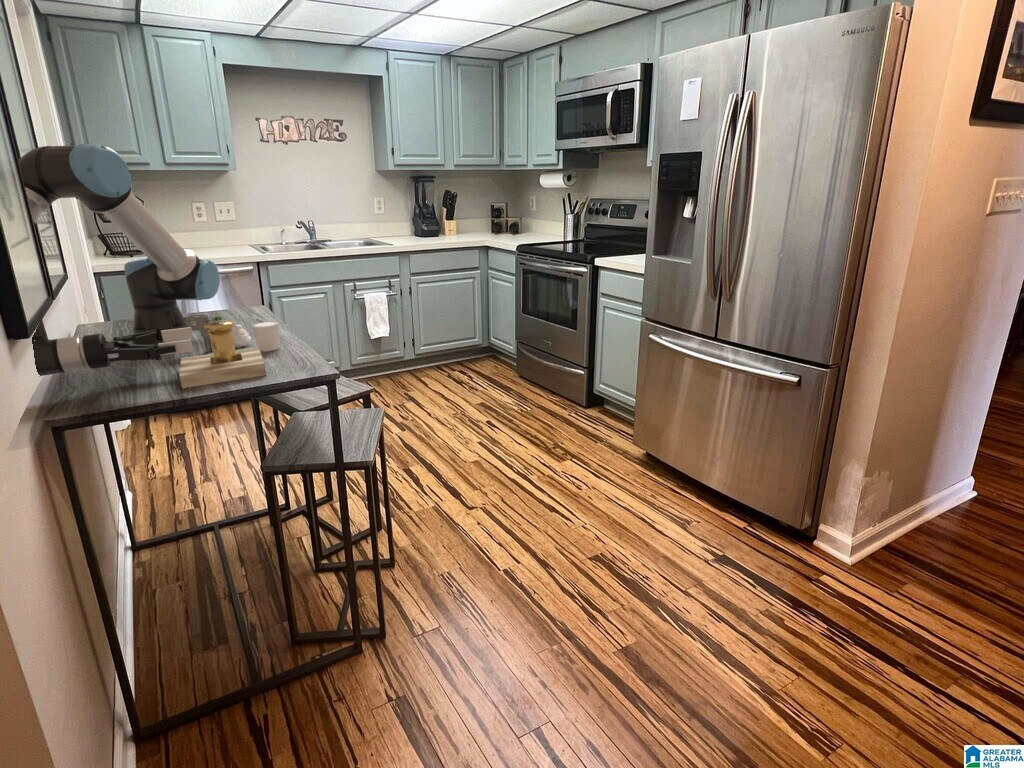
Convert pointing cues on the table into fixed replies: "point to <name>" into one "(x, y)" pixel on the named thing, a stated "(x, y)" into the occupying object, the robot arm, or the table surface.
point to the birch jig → (221, 368)
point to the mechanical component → (201, 327)
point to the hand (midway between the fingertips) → (192, 338)
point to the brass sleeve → (222, 340)
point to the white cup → (267, 335)
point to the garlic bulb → (240, 336)
